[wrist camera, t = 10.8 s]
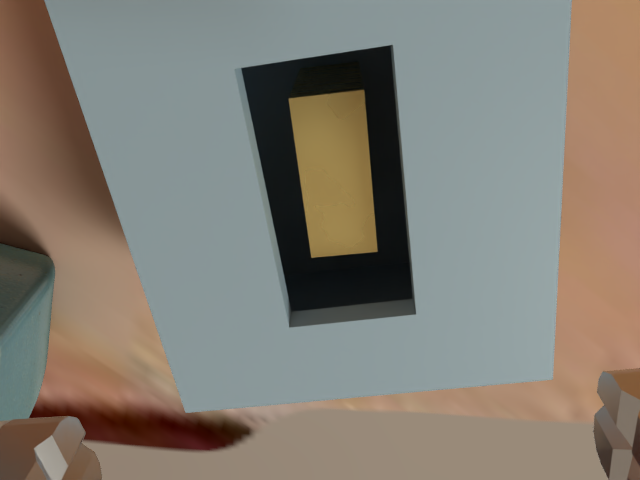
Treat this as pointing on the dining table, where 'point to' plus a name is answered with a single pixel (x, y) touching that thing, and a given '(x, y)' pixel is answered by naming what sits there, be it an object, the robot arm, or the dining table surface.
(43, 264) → the flower pot
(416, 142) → the tissue box
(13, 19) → the dining table surface
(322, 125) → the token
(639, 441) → the robot arm
